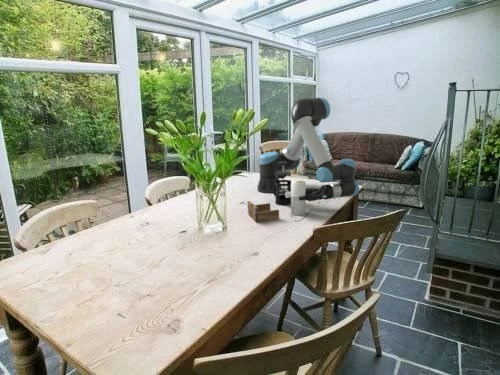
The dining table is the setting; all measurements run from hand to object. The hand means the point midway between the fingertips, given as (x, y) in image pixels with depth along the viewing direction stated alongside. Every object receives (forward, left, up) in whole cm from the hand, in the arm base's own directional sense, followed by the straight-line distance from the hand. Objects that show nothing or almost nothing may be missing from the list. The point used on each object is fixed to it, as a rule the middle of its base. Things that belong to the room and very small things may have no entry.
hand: (289, 197), depth 165 cm
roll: (0, +5, -9) cm, 10 cm away
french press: (-19, +5, -9) cm, 22 cm away
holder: (-2, -13, -9) cm, 16 cm away
